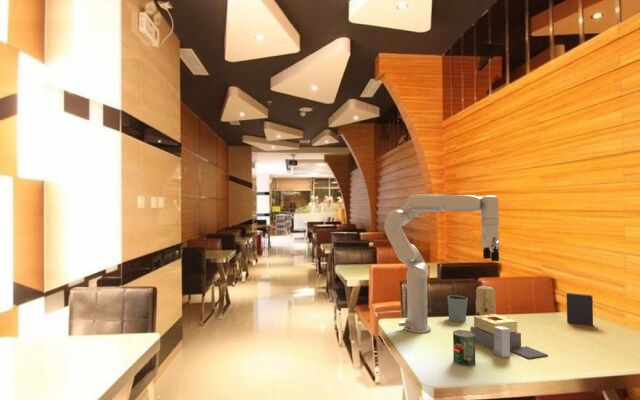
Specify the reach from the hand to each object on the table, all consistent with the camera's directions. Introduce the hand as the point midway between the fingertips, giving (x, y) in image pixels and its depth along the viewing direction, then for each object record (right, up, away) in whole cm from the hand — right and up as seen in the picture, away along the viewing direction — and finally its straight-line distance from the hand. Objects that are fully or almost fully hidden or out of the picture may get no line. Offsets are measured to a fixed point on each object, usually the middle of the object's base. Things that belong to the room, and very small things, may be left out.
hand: (491, 259), depth 172 cm
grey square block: (-2, -35, -9) cm, 36 cm away
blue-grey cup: (-5, -37, +28) cm, 46 cm away
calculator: (+56, -37, +22) cm, 70 cm away
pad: (+6, -35, -20) cm, 41 cm away
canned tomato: (-24, -35, -30) cm, 52 cm away
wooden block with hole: (-2, -29, -9) cm, 30 cm away
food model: (+5, -36, +16) cm, 40 cm away
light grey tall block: (-6, -35, -23) cm, 42 cm away
